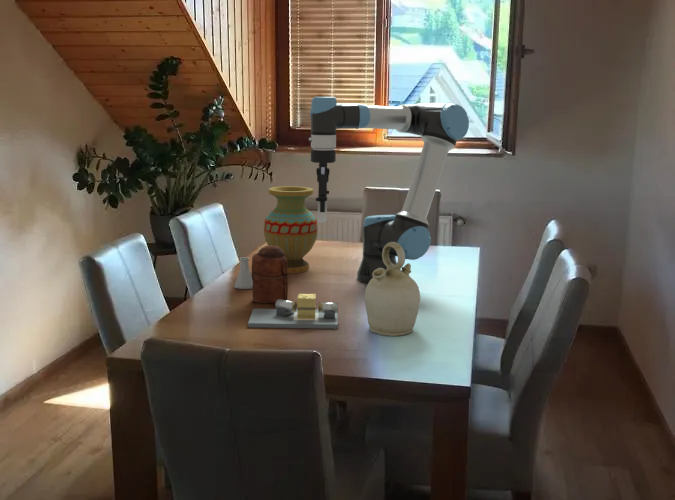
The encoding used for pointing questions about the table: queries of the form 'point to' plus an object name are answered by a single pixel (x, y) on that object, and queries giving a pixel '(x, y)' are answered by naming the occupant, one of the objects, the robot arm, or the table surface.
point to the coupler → (306, 306)
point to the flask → (244, 275)
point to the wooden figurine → (269, 275)
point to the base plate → (289, 320)
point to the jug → (392, 296)
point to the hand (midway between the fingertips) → (322, 218)
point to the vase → (291, 226)
